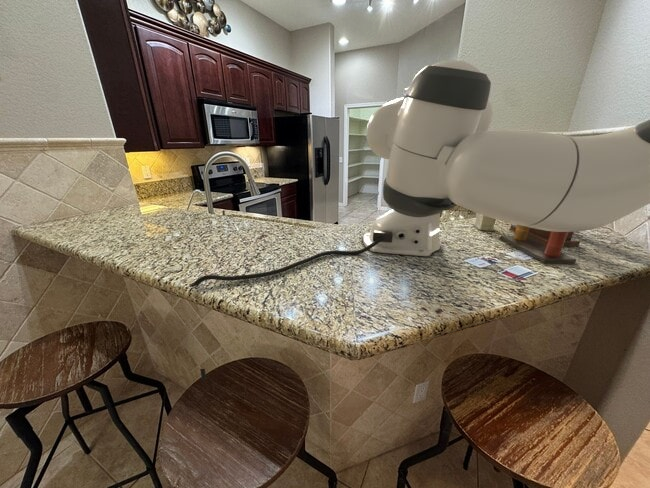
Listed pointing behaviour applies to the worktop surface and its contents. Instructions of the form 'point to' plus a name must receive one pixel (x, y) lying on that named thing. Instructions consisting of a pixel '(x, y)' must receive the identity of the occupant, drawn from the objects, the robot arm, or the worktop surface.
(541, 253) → the rod stand
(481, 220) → the cosmetic box
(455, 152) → the robot arm
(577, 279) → the worktop surface
